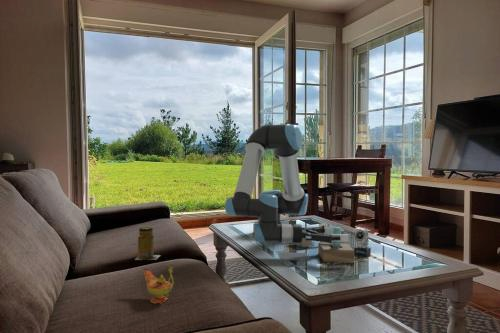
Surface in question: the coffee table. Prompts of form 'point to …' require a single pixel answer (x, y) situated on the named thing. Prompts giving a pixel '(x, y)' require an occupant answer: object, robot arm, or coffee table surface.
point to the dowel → (335, 243)
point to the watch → (362, 243)
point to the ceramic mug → (304, 243)
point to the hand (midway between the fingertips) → (344, 234)
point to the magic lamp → (158, 285)
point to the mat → (293, 256)
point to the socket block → (336, 253)
